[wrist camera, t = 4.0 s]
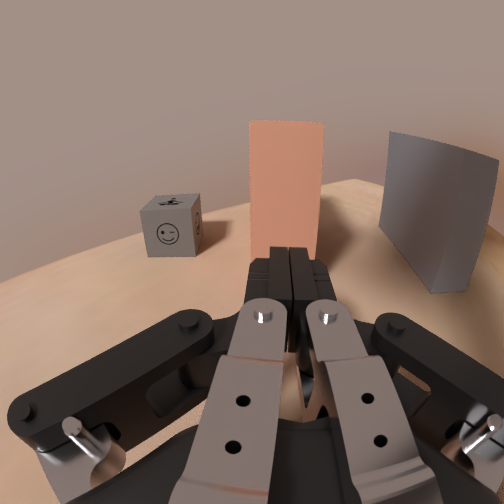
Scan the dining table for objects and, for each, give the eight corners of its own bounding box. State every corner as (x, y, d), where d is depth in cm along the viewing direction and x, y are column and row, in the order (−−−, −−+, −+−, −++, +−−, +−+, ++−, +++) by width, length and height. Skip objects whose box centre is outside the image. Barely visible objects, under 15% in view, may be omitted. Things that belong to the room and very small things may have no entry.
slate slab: (378, 226, 33) (389, 131, 27) (407, 228, 33) (419, 137, 27) (430, 293, 20) (464, 148, 14) (464, 291, 20) (499, 160, 14)
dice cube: (148, 258, 26) (139, 211, 24) (161, 237, 31) (155, 195, 28) (195, 257, 26) (190, 208, 24) (203, 236, 31) (199, 193, 28)
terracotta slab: (260, 222, 34) (260, 120, 28) (296, 223, 34) (300, 121, 28) (251, 294, 21) (249, 120, 15) (310, 295, 21) (324, 123, 15)
